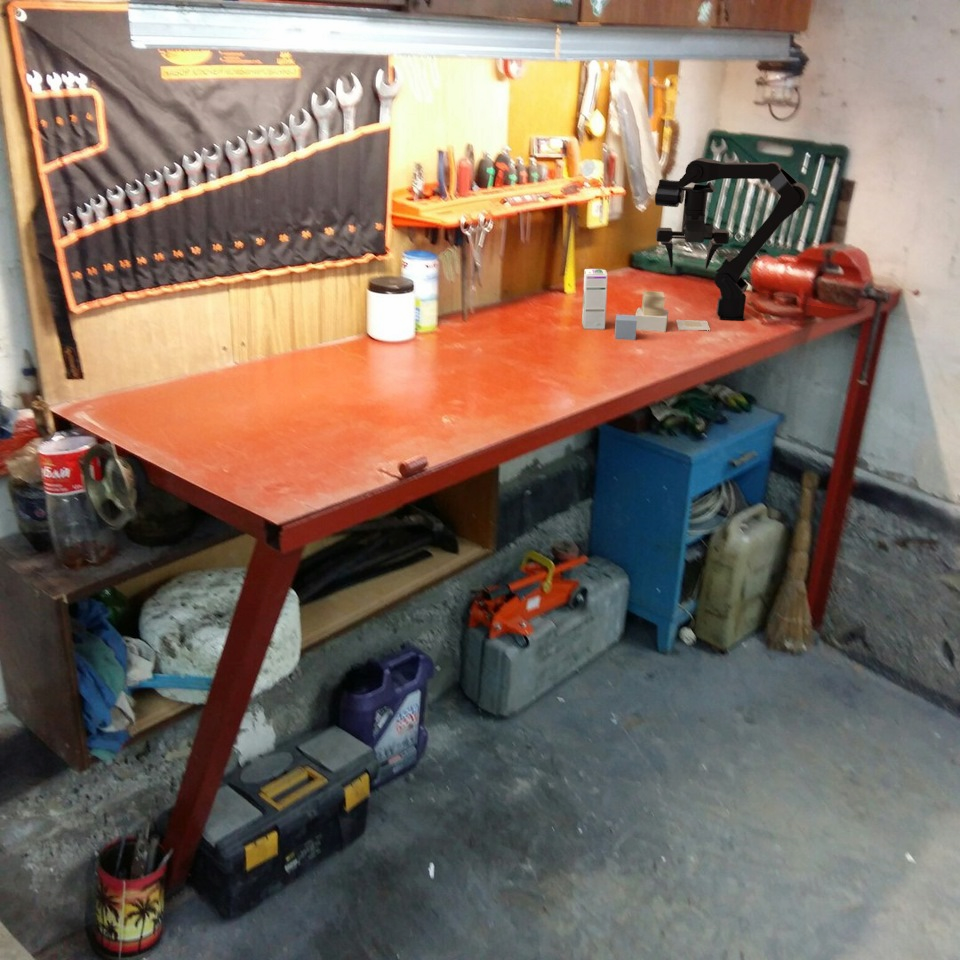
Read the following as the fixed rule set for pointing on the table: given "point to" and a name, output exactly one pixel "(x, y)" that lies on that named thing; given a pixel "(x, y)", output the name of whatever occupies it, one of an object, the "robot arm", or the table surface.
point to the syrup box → (594, 298)
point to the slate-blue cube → (625, 327)
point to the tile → (692, 325)
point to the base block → (651, 321)
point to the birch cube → (653, 303)
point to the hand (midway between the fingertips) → (688, 267)
